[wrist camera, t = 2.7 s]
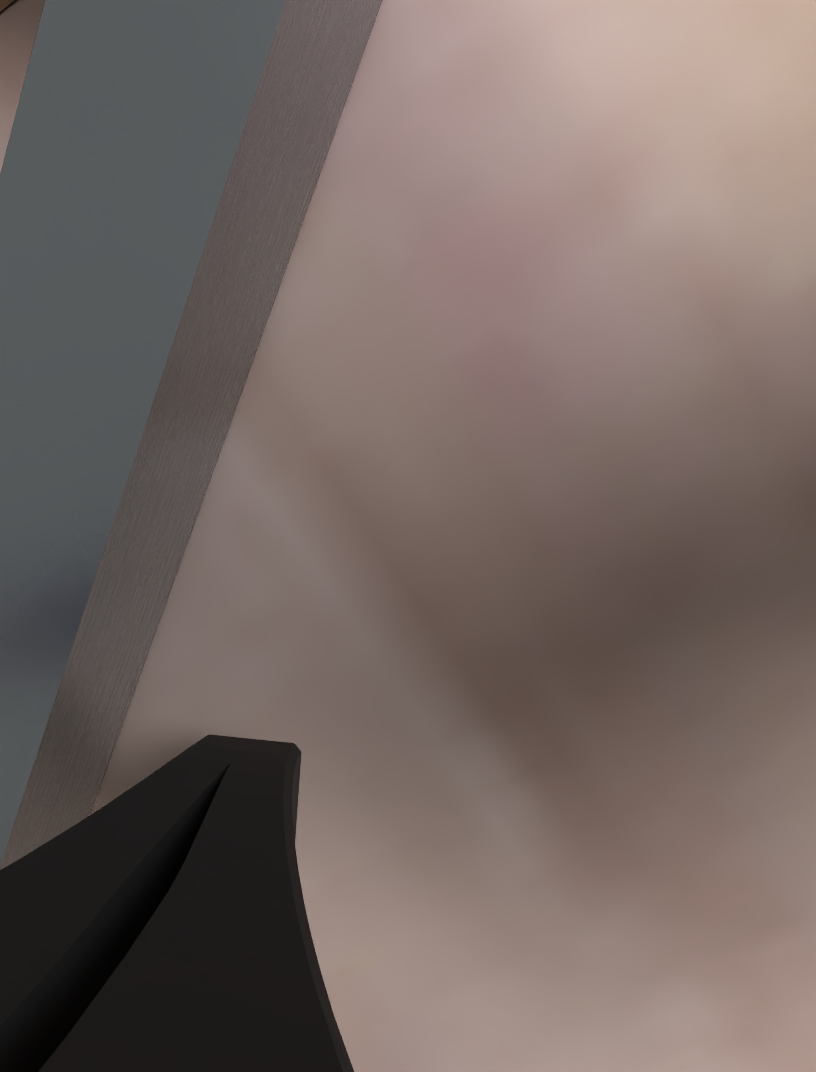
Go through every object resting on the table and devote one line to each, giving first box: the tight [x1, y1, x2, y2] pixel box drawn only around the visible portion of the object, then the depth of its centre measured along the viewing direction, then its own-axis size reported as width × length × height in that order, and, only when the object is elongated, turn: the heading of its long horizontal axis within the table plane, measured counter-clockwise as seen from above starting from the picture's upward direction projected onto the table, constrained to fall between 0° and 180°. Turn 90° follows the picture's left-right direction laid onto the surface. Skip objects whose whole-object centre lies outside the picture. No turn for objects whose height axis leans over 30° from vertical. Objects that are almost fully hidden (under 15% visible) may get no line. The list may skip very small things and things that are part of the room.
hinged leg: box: [0, 0, 382, 870], centre depth 7 cm, size 15×2×4 cm, turn 157°
